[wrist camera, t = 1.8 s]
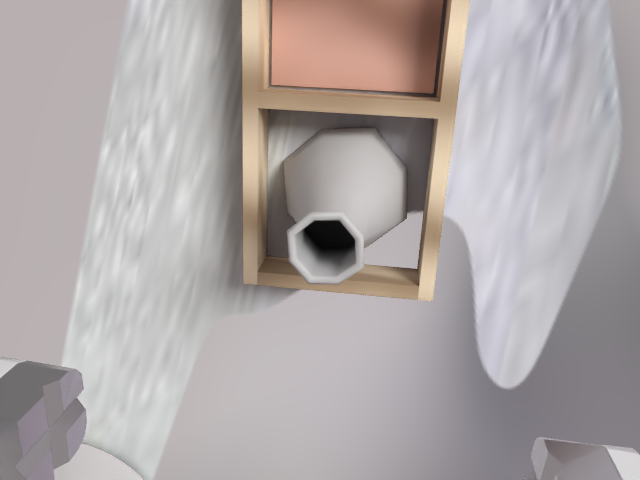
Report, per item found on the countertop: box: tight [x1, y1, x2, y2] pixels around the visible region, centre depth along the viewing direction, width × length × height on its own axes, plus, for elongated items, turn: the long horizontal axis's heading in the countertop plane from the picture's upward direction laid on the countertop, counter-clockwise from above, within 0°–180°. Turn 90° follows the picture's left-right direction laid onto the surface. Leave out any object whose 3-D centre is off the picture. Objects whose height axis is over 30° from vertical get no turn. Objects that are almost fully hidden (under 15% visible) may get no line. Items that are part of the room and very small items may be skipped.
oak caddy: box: [242, 0, 470, 301], centre depth 28 cm, size 20×11×2 cm, turn 178°
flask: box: [283, 127, 407, 285], centre depth 27 cm, size 7×7×10 cm
